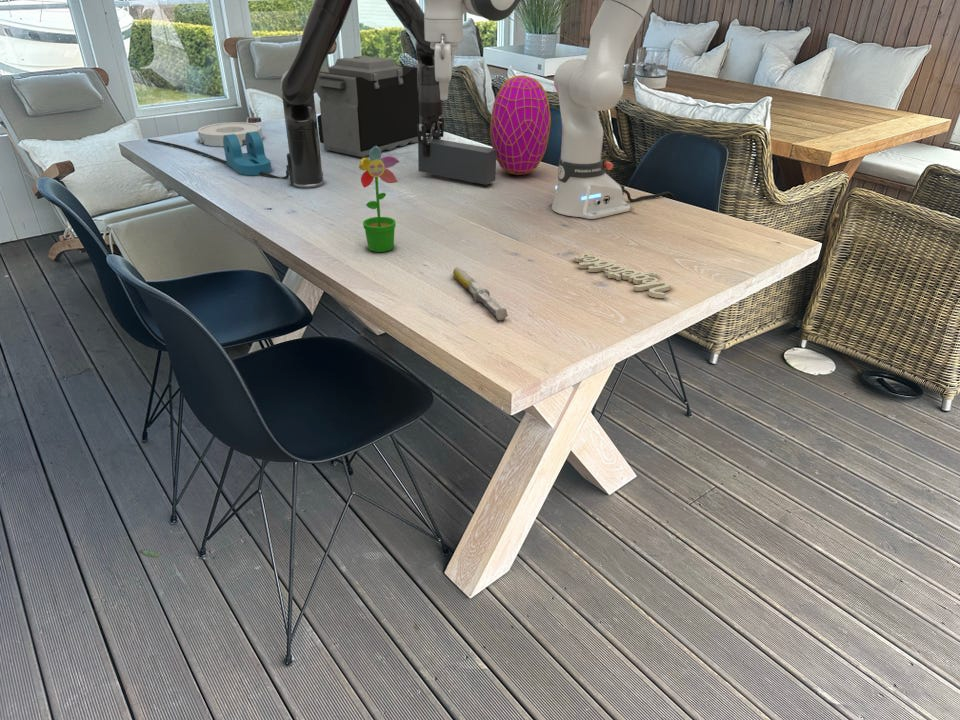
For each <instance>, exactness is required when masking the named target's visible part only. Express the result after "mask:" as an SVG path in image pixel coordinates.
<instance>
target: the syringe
mask: <svg viewBox="0 0 960 720" xmlns="http://www.w3.org/2000/svg"><path fill="white" fill-rule="evenodd" d="M452 274H453V277H454V279H455V280H457V281H458V282H459V283H460V285H462V287H464V289H466V290H467V291H468V293H470V295H471V296H472V298H473V300H474V302H477V303H478V302H480V303H482V304H483V305H484V306H485V307H486V308H487V309H488V310H489V311H490V312H491V313H492V314H493V315H494V316H495V317H496V320H497V321H503V320H504V319H506V318H507V317H509V314H508V310H507V308H506V307H502V306H501V305H500V303H498V302H497V301H496V300H494V299H493V298H492V297H491V296H490V295H491V293H490V290H488V289H486V288H483V287H482V286H481V285H480V284H479V283H478V282H477V281H476V280H474V278H473V277H471V275H469V274H468V273H467V272H466V270H465V269H464V268H463V267H462V266H456V267H454V268H453V271H452Z"/></svg>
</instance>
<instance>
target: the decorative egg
mask: <svg viewBox="0 0 960 720" xmlns="http://www.w3.org/2000/svg"><path fill="white" fill-rule="evenodd" d="M547 95H548V94H547V92H546V91H545V89H544V87H543V85H542V84H541V83H540V82H539V81H538V80H537V79H536V78H533V77H531V76H528V75H516V76H512V77H509V78H508V79H507V80H506V81H504V82H503V84H502V86H501V87H500V89H499V90H498V92H497V94H496V96H495V98H494V101H493V104H492V109H491V116H490V122H489V123H490V124H489V134H490V135H489V136H490V143H491V148H493V149H497V157H496V162H497V163H498V164H499V166H500V168H501V169H502V170H504V171H505V172H507V173H508V174H511V175H515V176H523V175H527V174H529V173H532V172H533V171H535V170H536V169H537V167H539V165H540V163H541V161H542V160H543V158H544V157H545V156H544V155H545V153H546V151H547V147H548V143H549V138H550V132H551V131H550V130H551V125H552V118H551V115H552V114H551V108H550V102H549V98H548V96H547Z"/></svg>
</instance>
